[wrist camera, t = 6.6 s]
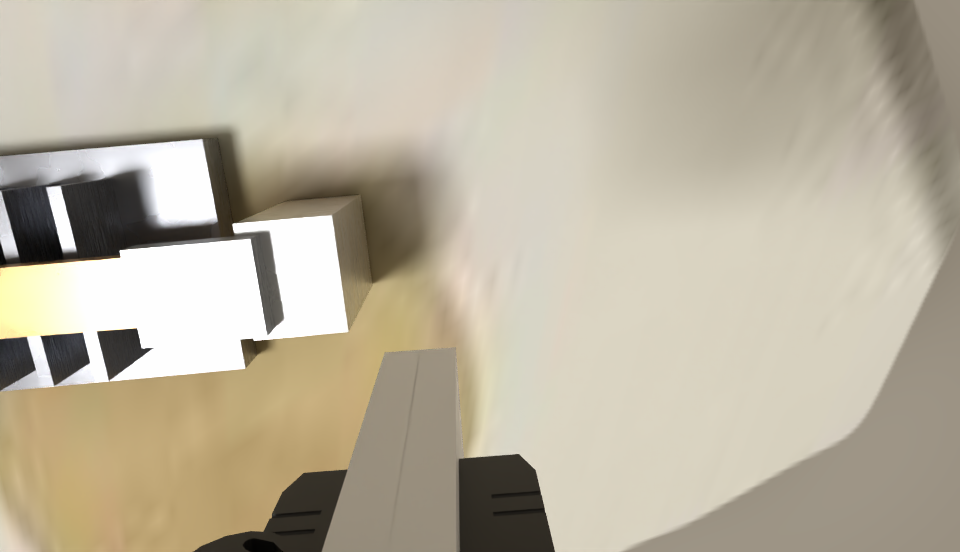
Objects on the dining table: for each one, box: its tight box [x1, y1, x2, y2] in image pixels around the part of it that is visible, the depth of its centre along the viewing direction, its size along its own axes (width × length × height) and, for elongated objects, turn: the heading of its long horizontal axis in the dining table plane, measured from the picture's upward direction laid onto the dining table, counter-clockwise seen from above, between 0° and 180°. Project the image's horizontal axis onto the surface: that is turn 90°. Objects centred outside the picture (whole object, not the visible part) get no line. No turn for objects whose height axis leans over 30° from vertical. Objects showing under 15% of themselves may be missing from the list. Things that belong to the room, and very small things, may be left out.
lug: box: [120, 195, 372, 348], centre depth 28 cm, size 5×8×9 cm, turn 95°
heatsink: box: [0, 139, 257, 391], centre depth 29 cm, size 12×20×7 cm, turn 95°
